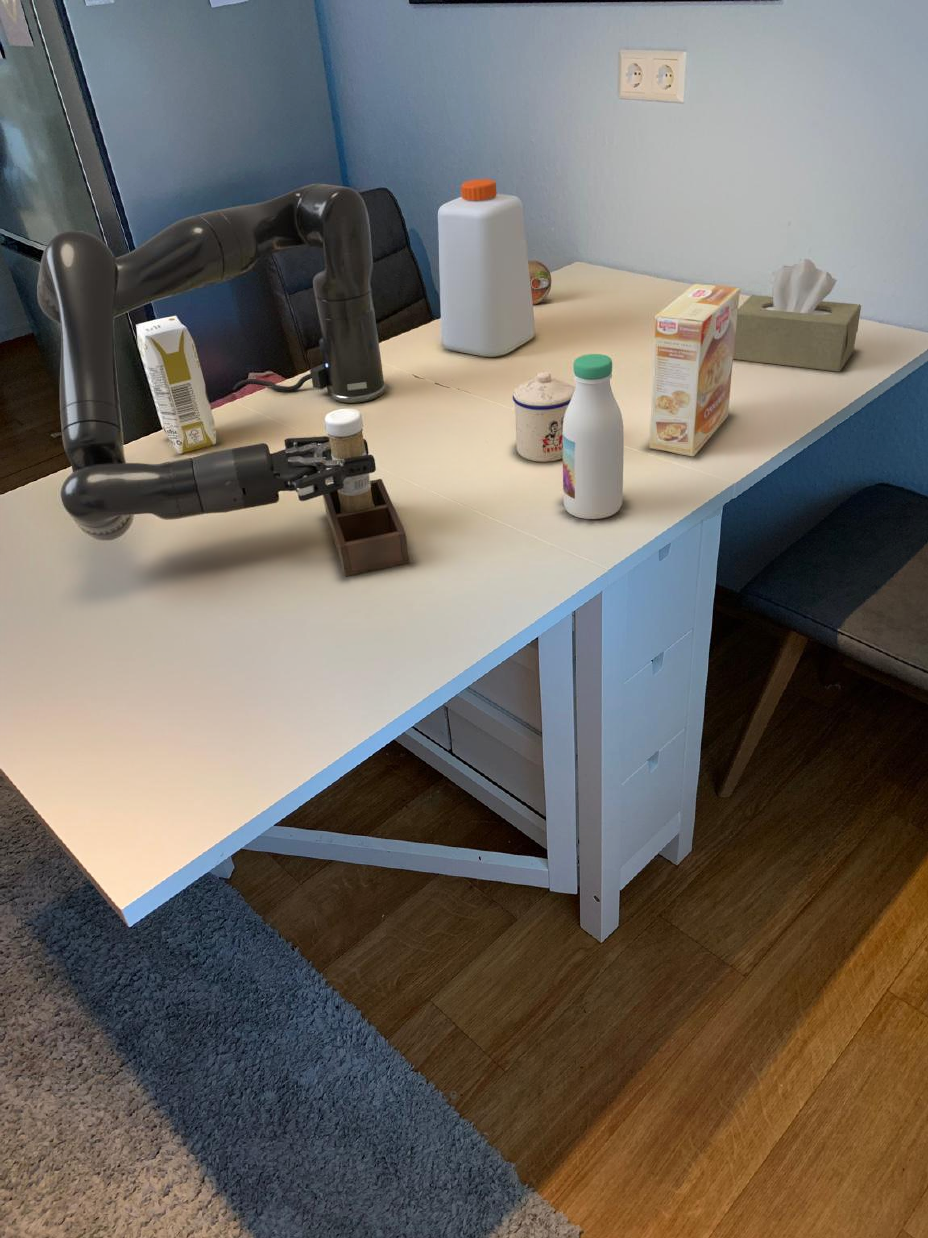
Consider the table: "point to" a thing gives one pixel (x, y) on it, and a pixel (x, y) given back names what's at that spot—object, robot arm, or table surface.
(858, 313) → the tissue box
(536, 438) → the teacup with lid
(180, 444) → the juice carton
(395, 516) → the holder
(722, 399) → the coffeecake box
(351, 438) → the sprinkles bottle
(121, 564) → the table surface
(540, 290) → the tin
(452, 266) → the plastic bottle
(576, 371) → the milk bottle
